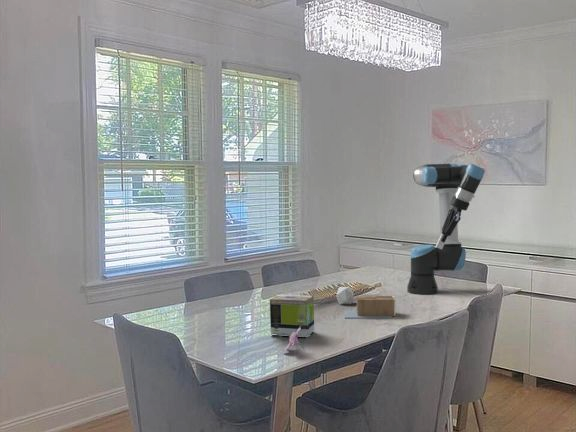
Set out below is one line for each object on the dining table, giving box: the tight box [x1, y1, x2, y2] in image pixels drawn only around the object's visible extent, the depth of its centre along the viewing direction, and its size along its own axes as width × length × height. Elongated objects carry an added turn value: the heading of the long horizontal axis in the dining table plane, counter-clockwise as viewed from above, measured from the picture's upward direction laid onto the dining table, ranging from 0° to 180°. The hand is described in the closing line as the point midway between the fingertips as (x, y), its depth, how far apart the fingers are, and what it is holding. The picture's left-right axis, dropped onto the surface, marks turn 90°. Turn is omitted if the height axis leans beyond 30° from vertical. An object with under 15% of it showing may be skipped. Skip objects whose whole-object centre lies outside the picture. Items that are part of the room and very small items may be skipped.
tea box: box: [269, 293, 315, 338], centre depth 231 cm, size 15×10×15 cm
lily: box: [284, 326, 305, 352], centre depth 210 cm, size 11×11×9 cm
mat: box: [343, 309, 393, 319], centre depth 259 cm, size 12×20×1 cm, turn 87°
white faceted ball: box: [335, 286, 355, 305], centre depth 280 cm, size 8×9×10 cm
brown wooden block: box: [356, 295, 396, 317], centre depth 258 cm, size 7×7×16 cm
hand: (438, 247), depth 263 cm, fingers closed
